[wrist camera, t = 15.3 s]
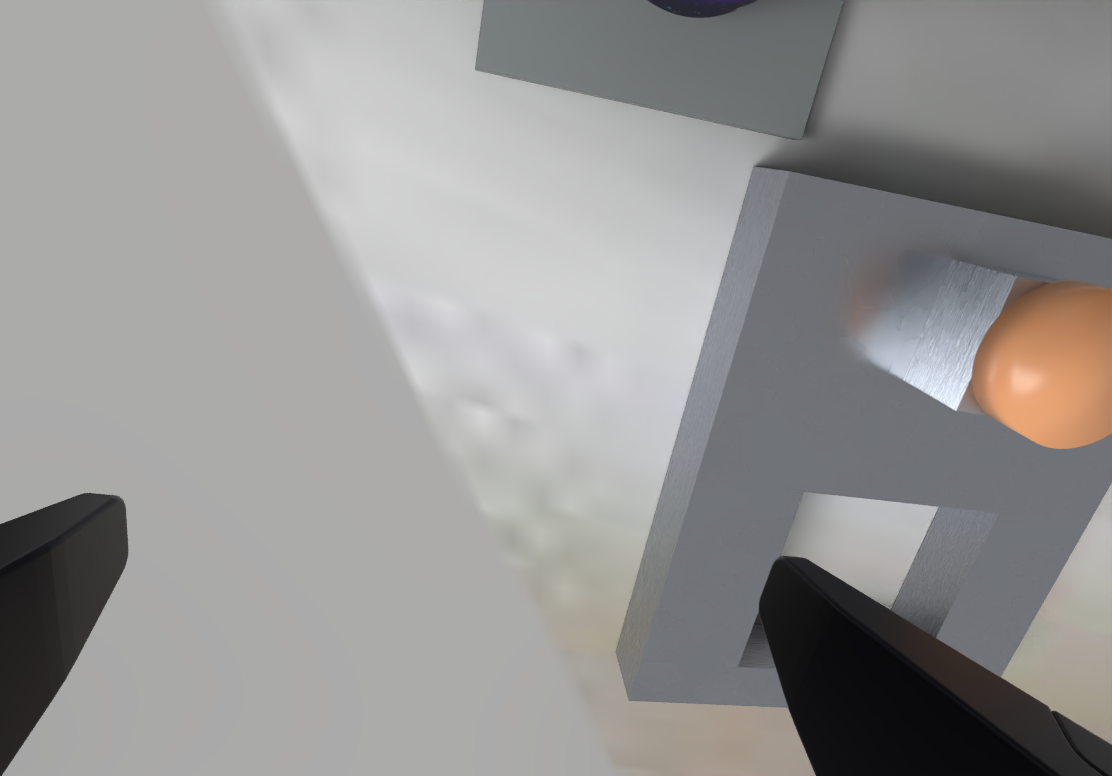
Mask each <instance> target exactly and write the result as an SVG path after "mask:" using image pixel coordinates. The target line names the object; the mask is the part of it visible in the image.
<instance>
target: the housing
mask: <svg viewBox="0 0 1112 776" xmlns="http://www.w3.org/2000/svg"><path fill="white" fill-rule="evenodd" d="M1069 280H1074V281H1082V282H1086V283H1090V284H1094V285H1098V286H1102V287H1106V288H1110V289H1112V239H1111V238H1106V237H1101V236H1097V235H1092V234H1087V233H1082V232H1078V231H1073V230H1068V229H1063V228H1058V227H1054V226H1049V225H1044V224H1039V223H1035V222H1030V221H1025V220H1020V219H1015V218H1011V217H1006V216H1001V215H996V214H992V213H987V212H982V211H977V210H972V209H968V208H963V207H958V206H953V205H949V204H944V203H939V202H934V201H929V200H925V199H920V198H915V197H910V196H906V195H901V194H896V193H891V192H886V191H882V190H877V189H872V188H867V187H863V186H858V185H853V184H848V183H844V182H839V181H834V180H829V179H824V178H820V177H815V176H810V175H805V174H801V173H796V172H791V171H784V170H776V169H769V168H761V167H753V171H752V174H751V178H750V181H749V185H748V188H747V192H746V195H745V199H744V202H743V206H742V210H741V213H740V217H739V220H738V224H737V227H736V231H735V234H734V238H733V241H732V245H731V248H730V252H729V255H728V259H727V262H726V266H725V269H724V273H723V276H722V280H721V283H720V287H719V291H718V294H717V298H716V301H715V305H714V308H713V312H712V315H711V319H710V322H709V326H708V329H707V333H706V336H705V340H704V343H703V347H702V350H701V354H700V357H699V361H698V364H697V368H696V372H695V375H694V379H693V382H692V386H691V389H690V393H689V396H688V400H687V403H686V407H685V410H684V414H683V417H682V421H681V424H680V428H679V431H678V435H677V438H676V442H675V445H674V449H673V453H672V456H671V460H670V463H669V467H668V470H667V474H666V477H665V481H664V484H663V488H662V491H661V495H660V498H659V502H658V505H657V509H656V512H655V516H654V519H653V523H652V526H651V530H650V534H649V537H648V541H647V544H646V548H645V551H644V555H643V558H642V562H641V565H640V569H639V572H638V576H637V579H636V583H635V586H634V590H633V593H632V597H631V600H630V604H629V607H628V611H627V615H626V618H625V622H624V625H623V629H622V632H621V636H620V639H619V643H618V646H617V650H616V655H617V659H618V662H619V666H620V670H621V673H622V677H623V681H624V685H625V688H626V692H627V696H628V699H629V701H648V702H670V703H693V704H716V705H739V706H762V707H785V708H788V706H787V703H786V700H785V697H784V694H783V691H782V687H781V684H780V681H779V678H778V674H777V671H776V668H775V665H774V661H773V658H772V655H771V652H770V648H769V645H768V642H767V639H766V635H765V632H764V629H763V626H762V625H760V624H754V622H755V620H756V617H757V614H758V612H759V600H760V596H761V593H762V591H763V588H764V585H765V583H766V580H767V577H768V575H769V572H770V569H771V567H772V564H773V562H774V561H775V560H776V558H778V557H779V556H780V553H781V551H782V548H783V545H784V543H785V540H786V537H787V535H788V532H789V529H790V527H791V524H792V521H793V519H794V516H795V513H796V511H797V508H798V505H799V503H800V500H801V497H802V495H803V492H812V493H821V494H830V495H839V496H848V497H857V498H866V499H875V500H884V501H893V502H902V503H911V504H920V505H929V506H938V507H939V509H938V511H937V513H936V515H935V517H934V520H933V522H932V524H931V526H930V528H929V530H928V532H927V535H926V537H925V539H924V541H923V543H922V545H921V547H920V549H919V552H918V554H917V556H916V558H915V560H914V562H913V564H912V567H911V569H910V571H909V573H908V575H907V577H906V579H905V582H904V584H903V586H902V588H901V590H900V592H899V594H898V596H897V599H896V601H895V603H894V605H893V607H892V609H891V611H893V612H894V613H896V614H898V615H899V616H901V617H903V618H904V619H906V620H907V621H909V622H911V623H912V624H914V625H916V626H917V627H919V628H921V629H922V630H924V631H925V632H927V633H929V634H930V635H932V636H934V637H935V638H937V639H939V640H940V641H942V642H944V643H945V644H947V645H948V646H950V647H952V648H953V649H955V650H957V651H958V652H960V653H962V654H963V655H965V656H966V657H968V658H970V659H971V660H973V661H975V662H976V663H978V664H980V665H981V666H983V667H984V668H986V669H988V670H989V671H991V672H993V673H994V674H996V675H998V676H999V677H1001V676H1002V674H1003V672H1004V670H1005V669H1006V667H1007V665H1008V663H1009V662H1010V660H1011V658H1012V656H1013V655H1014V653H1015V651H1016V649H1017V648H1018V646H1019V644H1020V642H1021V641H1022V639H1023V637H1024V635H1025V634H1026V632H1027V630H1028V628H1029V627H1030V625H1031V623H1032V621H1033V620H1034V618H1035V616H1036V614H1037V613H1038V611H1039V609H1040V607H1041V606H1042V604H1043V602H1044V600H1045V599H1046V597H1047V595H1048V593H1049V592H1050V590H1051V588H1052V586H1053V584H1054V583H1055V581H1056V579H1057V577H1058V576H1059V574H1060V572H1061V570H1062V569H1063V567H1064V565H1065V563H1066V562H1067V560H1068V558H1069V556H1070V555H1071V553H1072V551H1073V549H1074V548H1075V546H1076V544H1077V542H1078V541H1079V539H1080V537H1081V535H1082V534H1083V532H1084V530H1085V528H1086V527H1087V525H1088V523H1089V521H1090V520H1091V518H1092V516H1093V514H1094V513H1095V511H1096V509H1097V507H1098V506H1099V504H1100V502H1101V500H1102V499H1103V497H1104V495H1105V493H1106V492H1107V490H1108V488H1109V486H1110V485H1111V483H1112V434H1110V435H1109V436H1107V437H1105V438H1103V439H1101V440H1099V441H1096V442H1094V443H1091V444H1088V445H1085V446H1081V447H1076V448H1069V449H1055V448H1049V447H1045V446H1042V445H1040V444H1037V443H1035V442H1034V441H1032V440H1030V439H1028V438H1026V437H1025V436H1023V435H1021V434H1019V433H1017V432H1016V431H1014V430H1012V429H1010V428H1008V427H1007V426H1005V425H1003V424H1001V423H1000V422H998V421H996V420H994V419H993V418H991V417H989V416H988V415H987V414H986V413H985V412H984V411H983V410H982V409H981V407H980V406H979V404H978V402H977V400H976V398H975V395H974V392H973V387H972V369H973V363H974V359H975V355H976V352H977V350H978V347H979V345H980V343H981V341H982V339H983V337H984V335H985V334H986V332H987V331H988V329H989V328H990V326H991V325H992V324H993V322H994V321H995V320H996V319H997V317H998V316H999V315H1000V314H1001V313H1002V312H1003V311H1004V310H1005V309H1006V308H1007V307H1009V306H1010V305H1011V304H1012V303H1013V302H1015V301H1016V300H1017V299H1019V298H1020V297H1022V296H1023V295H1025V294H1027V293H1028V292H1030V291H1032V290H1034V289H1036V288H1038V287H1041V286H1043V285H1046V284H1050V283H1053V282H1058V281H1069Z"/></svg>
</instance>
